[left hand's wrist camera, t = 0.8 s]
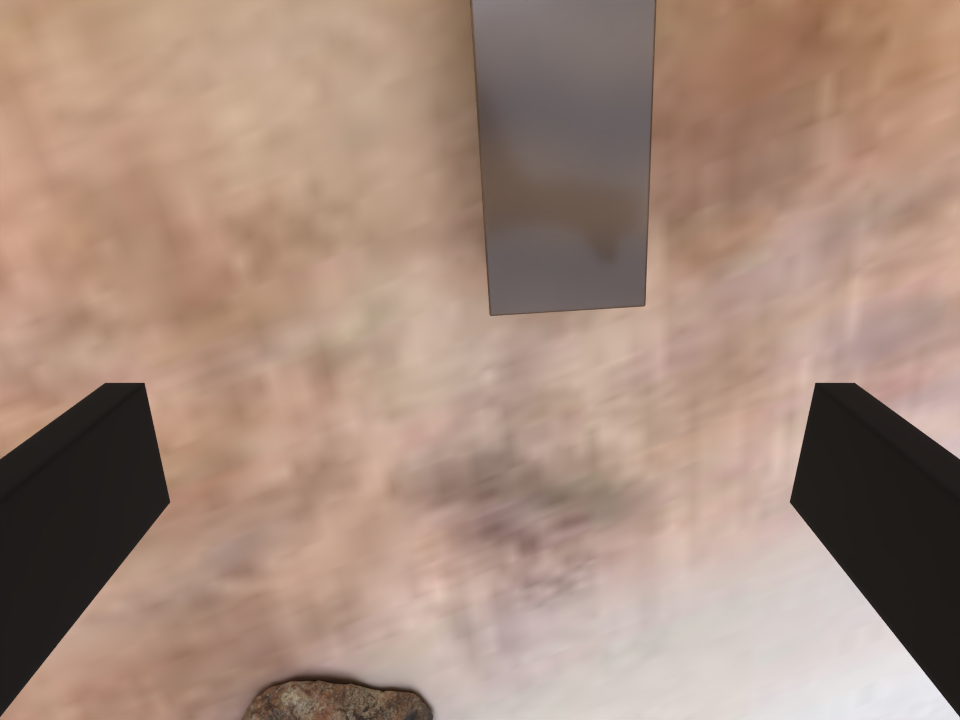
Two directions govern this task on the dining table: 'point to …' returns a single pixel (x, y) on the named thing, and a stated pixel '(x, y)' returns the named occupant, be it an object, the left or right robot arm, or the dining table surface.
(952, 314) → the dining table surface
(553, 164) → the post
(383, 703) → the rock
